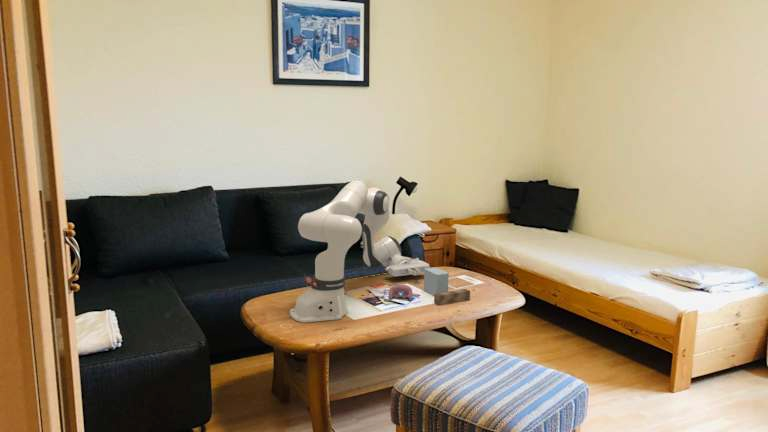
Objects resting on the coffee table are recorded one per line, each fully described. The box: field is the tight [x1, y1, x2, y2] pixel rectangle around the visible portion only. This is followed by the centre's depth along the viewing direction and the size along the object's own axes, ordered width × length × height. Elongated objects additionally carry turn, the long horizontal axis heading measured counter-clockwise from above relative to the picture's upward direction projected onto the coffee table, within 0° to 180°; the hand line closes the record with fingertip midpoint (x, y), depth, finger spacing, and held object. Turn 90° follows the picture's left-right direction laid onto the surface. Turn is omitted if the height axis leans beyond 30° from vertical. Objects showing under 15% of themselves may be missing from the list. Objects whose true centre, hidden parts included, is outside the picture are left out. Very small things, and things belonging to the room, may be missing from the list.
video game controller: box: [388, 284, 413, 302], centre depth 241 cm, size 10×5×7 cm, turn 84°
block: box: [423, 267, 450, 297], centre depth 249 cm, size 6×10×10 cm, turn 28°
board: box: [433, 288, 471, 306], centre depth 239 cm, size 16×3×4 cm, turn 118°
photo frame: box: [448, 274, 487, 291], centre depth 265 cm, size 15×1×18 cm
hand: (417, 273), depth 262 cm, fingers closed
